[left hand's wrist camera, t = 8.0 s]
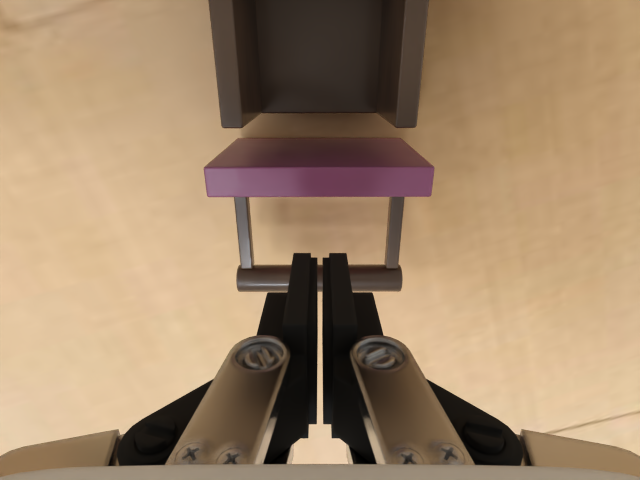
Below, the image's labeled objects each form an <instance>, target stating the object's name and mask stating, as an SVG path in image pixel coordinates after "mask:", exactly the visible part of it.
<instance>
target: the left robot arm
mask: <svg viewBox="0 0 640 480" xmlns="http://www.w3.org/2000/svg"><path fill="white" fill-rule="evenodd" d="M317 336H318V327H317V258H311V253H294V254H293V261H292V267H291V273H290V280H289V286H288V292H268V293H267V296H266V300H265V304H264V308H263V312H262V316H261V320H260V324H259V328H258V332H257V336H253V337H249V338H246V339H244V340H242V341H240V342H239V343H237V344H236V345H235V346H234V347H233V348H232V349H231V350H230V352H229V354H228V355H227V357H226V359H225V361H224V362H223V364H222V366H221V368H220V369H219V371H218V373H217V375H216V376H215V378H214V379H213V380H211V381H209V382H207V383H206V384H204V385H202V386H200V387H199V388H197V389H195V390H193V391H191V392H190V393H188V394H186V395H184V396H183V397H181V398H179V399H177V400H176V401H174V402H172V403H170V404H168V405H167V406H165V407H163V408H161V409H160V410H158V411H156V412H154V413H152V414H151V415H149V416H147V417H145V418H144V419H142V420H141V421H139V422H138V423H136V424H135V425H133V426H132V427H131V428H130V429H129V430H128V431H127V432H126V433H125V434H123V435H120V433H119V429H117V430H111V431H106V432H101V433H95V434H90V435H84V436H79V437H73V438H68V439H63V440H57V441H52V442H46V443H41V444H36V445H30V446H25V447H21V448H18V449H15V450H11V451H9V452H7V453H5V454H3V455H1V456H0V480H640V456H639V455H637V454H635V453H633V452H631V451H629V450H625V449H622V448H619V447H615V446H610V445H604V444H599V443H594V442H588V441H583V440H577V439H572V438H567V437H561V436H556V435H550V434H545V433H539V432H534V431H529V430H523V429H521V433H520V435H517V434H515V433H514V432H513V431H512V430H511V429H510V428H509V427H508V426H507V425H505V424H504V423H502V422H501V421H499V420H498V419H496V418H495V417H493V416H491V415H489V414H488V413H486V412H484V411H482V410H480V409H479V408H477V407H475V406H473V405H472V404H470V403H468V402H466V401H464V400H463V399H461V398H459V397H457V396H456V395H454V394H452V393H450V392H449V391H447V390H445V389H443V388H441V387H440V386H438V385H436V384H434V383H433V382H431V381H429V380H427V379H426V378H425V376H424V375H423V373H422V371H421V369H420V368H419V366H418V364H417V362H416V361H415V359H414V357H413V355H412V354H411V352H410V350H409V349H408V348H407V347H406V346H405V345H404V344H403V343H401V342H400V341H398V340H396V339H394V338H391V337H387V336H383V332H382V328H381V324H380V320H379V316H378V312H377V308H376V304H375V300H374V296H373V293H372V292H352V286H351V280H350V273H349V267H348V261H347V254H346V253H329V258H323V326H322V337H323V424H331V429H332V438H340V439H341V440H343V441H344V442H345V443H346V452H347V460H348V464H292V460H293V452H294V443H295V442H296V441H297V440H299V439H300V438H308V429H309V424H317Z"/></svg>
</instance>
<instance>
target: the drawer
mask: <svg viewBox="0 0 640 480" xmlns="http://www.w3.org/2000/svg"><path fill="white" fill-rule="evenodd" d="M428 4H429V0H209V9H210V19H211V29H212V38H213V48H214V58H215V67H216V77H217V87H218V97H219V106H220V116H221V126H222V127H223V128H242V127H244V126H245V125H246V124H248V123H249V122H250V121H252V120H253V119H254V118H255V117H257V116H258V115H259V114H261V113H378V114H379V115H380V116H382V117H383V118H384V119H386V120H387V121H388V122H390V123H391V124H392V125H393V126H395V127H396V128H415V127H416V126H417V116H418V106H419V96H420V85H421V75H422V65H423V55H424V45H425V35H426V24H427V14H428ZM204 174H205V182H206V190H207V196H208V197H234V201H235V211H236V222H237V232H238V242H239V252H240V263H241V265H239V267H238V269H237V288H238V291H239V292H288V286H289V280H290V273H291V267H292V265H254V254H253V241H252V229H251V217H250V204H249V197H390V198H389V211H388V224H387V237H386V250H385V265H348V267H349V273H350V280H351V286H352V291H400V290H401V288H402V270H401V267H400V265H398V261H399V250H400V240H401V229H402V218H403V207H404V197H429V196H431V193H432V185H433V176H434V166H432V165H431V164H430V163H429V162H428V161H427V160H425V159H424V158H423V157H422V156H421V155H420V154H419V153H417V152H416V151H415V150H414V149H413V148H412V147H410V146H409V145H408V144H407V143H406V142H405V141H403V140H402V139H401V138H238V139H236V140H235V141H234V142H233V143H232V144H231V145H229V146H228V147H227V148H226V149H225V150H224V151H223V152H221V153H220V154H219V155H218V156H217V157H216V158H214V159H213V160H212V161H211V162H210V163H209V164H207V165H206V166H205V167H204ZM317 292H323V265H317Z"/></svg>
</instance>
